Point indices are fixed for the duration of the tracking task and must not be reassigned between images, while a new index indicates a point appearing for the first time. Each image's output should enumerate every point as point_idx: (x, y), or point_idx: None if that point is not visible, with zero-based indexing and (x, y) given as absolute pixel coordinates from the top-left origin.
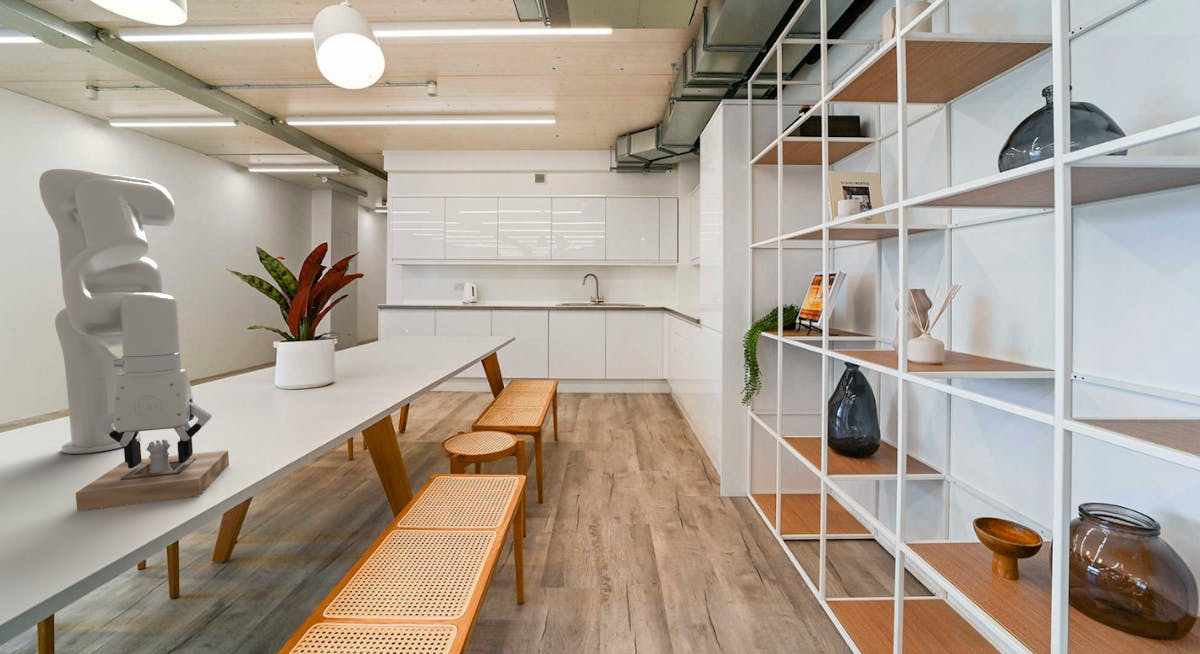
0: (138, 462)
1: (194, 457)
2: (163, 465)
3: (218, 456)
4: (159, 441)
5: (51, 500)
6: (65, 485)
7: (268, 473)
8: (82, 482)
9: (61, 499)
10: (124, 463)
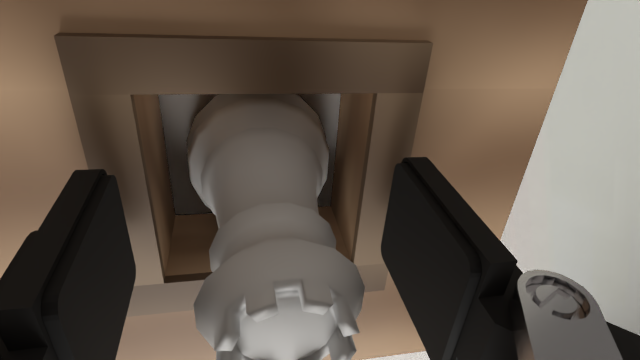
0: (389, 226)
1: (157, 334)
2: (231, 180)
3: None
4: None
5: (630, 104)
6: (590, 250)
7: None
8: (549, 264)
9: (602, 103)
10: None
